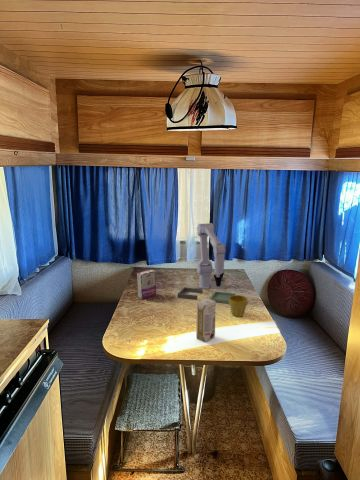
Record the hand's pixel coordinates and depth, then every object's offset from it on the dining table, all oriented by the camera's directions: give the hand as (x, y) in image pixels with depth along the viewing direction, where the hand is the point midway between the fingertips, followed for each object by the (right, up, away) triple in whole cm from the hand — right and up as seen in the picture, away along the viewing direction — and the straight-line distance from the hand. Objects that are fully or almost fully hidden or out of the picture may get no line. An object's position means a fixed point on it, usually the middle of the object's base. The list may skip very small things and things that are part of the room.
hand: (218, 284), depth 228 cm
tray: (+3, -9, +1) cm, 9 cm away
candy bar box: (-45, -8, +6) cm, 46 cm away
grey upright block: (0, -2, 0) cm, 2 cm away
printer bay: (-17, -8, +8) cm, 20 cm away
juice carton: (-12, -20, -50) cm, 55 cm away
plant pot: (+8, -14, -22) cm, 28 cm away
